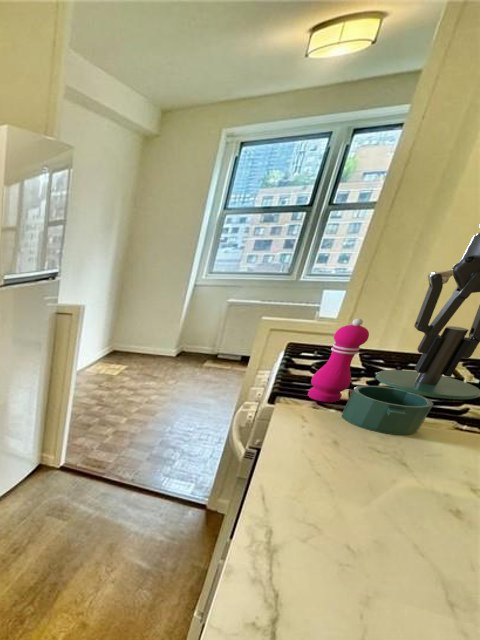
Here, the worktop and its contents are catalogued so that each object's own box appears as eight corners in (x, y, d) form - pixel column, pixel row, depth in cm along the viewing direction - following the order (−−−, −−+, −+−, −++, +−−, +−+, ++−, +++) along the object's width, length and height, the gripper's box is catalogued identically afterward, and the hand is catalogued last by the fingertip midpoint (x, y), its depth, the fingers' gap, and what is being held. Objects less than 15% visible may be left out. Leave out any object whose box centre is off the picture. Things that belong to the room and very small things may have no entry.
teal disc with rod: (465, 384, 91) (501, 325, 86) (488, 408, 81) (530, 343, 76) (369, 371, 98) (396, 315, 93) (380, 392, 88) (411, 331, 83)
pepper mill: (346, 399, 121) (385, 319, 111) (333, 405, 118) (372, 324, 108) (312, 390, 126) (346, 313, 117) (299, 396, 123) (333, 317, 114)
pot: (408, 414, 113) (422, 388, 109) (426, 445, 100) (443, 416, 97) (337, 403, 119) (349, 378, 116) (346, 430, 106) (359, 403, 103)
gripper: (446, 232, 78) (377, 370, 90) (601, 236, 70) (503, 387, 81) (435, 229, 84) (371, 359, 95) (577, 232, 76) (488, 374, 87)
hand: (432, 372), depth 88 cm, fingers closed on teal disc with rod, 3 cm apart
